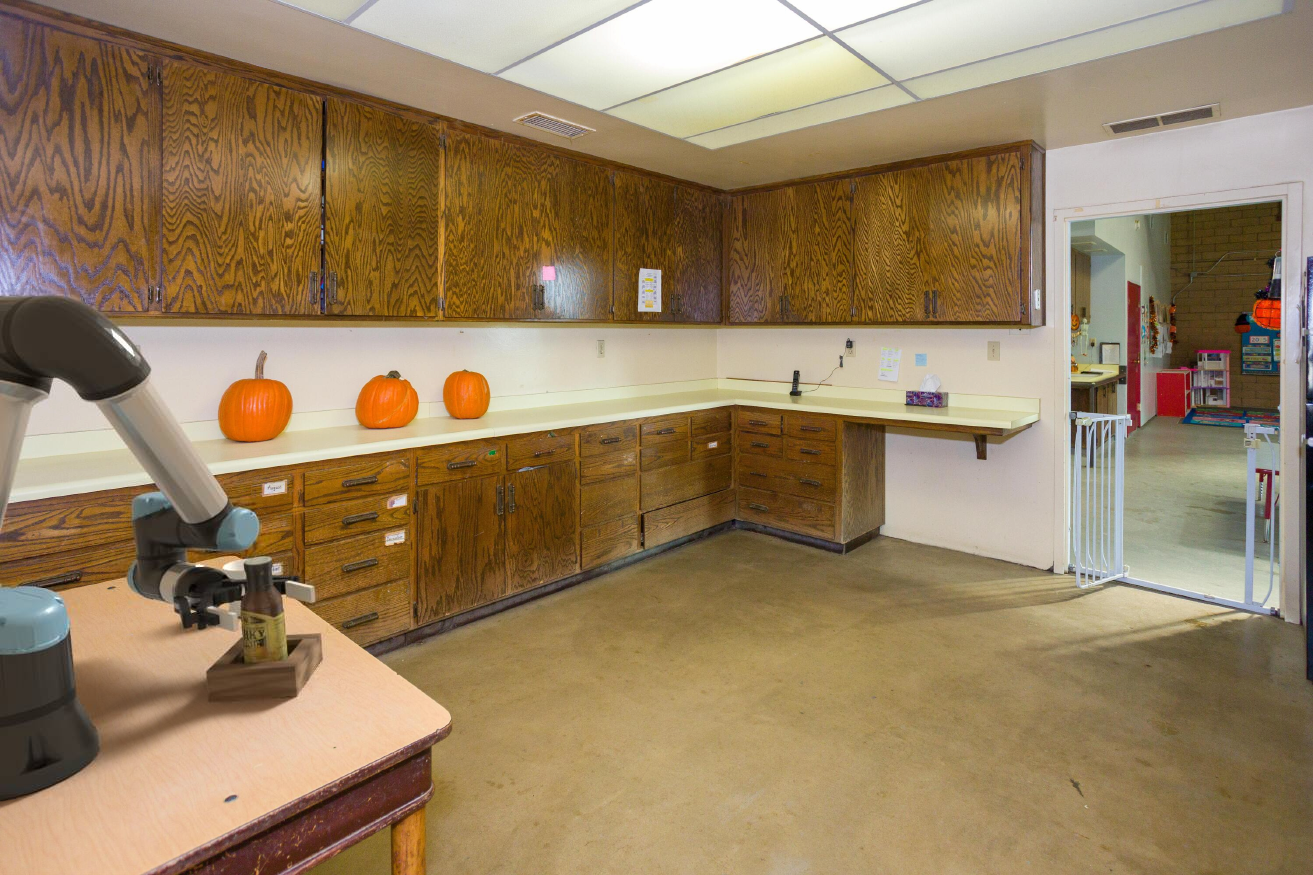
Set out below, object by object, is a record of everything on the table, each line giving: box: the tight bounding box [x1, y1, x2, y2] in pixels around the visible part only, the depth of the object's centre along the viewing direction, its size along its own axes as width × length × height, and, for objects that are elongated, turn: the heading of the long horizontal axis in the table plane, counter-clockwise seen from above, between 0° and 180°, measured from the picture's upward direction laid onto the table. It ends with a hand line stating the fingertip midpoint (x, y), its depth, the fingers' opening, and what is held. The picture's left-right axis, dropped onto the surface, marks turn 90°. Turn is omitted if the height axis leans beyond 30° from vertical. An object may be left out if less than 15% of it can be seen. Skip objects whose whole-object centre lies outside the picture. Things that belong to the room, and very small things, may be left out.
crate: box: [205, 632, 324, 703], centre depth 121 cm, size 13×13×5 cm
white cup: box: [222, 558, 249, 618], centre depth 151 cm, size 8×8×10 cm
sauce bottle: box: [240, 555, 288, 663], centre depth 119 cm, size 6×6×20 cm
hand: (276, 607), depth 118 cm, fingers open, 13 cm apart
